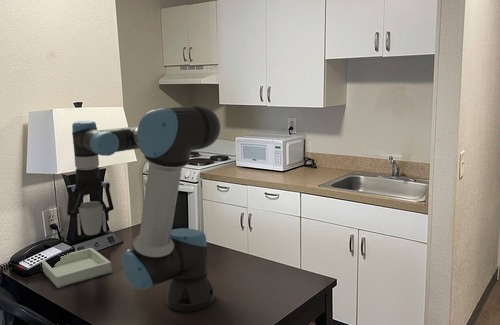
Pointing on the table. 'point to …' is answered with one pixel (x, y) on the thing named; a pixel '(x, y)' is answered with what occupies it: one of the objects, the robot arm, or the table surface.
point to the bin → (77, 267)
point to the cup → (91, 217)
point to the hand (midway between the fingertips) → (92, 231)
